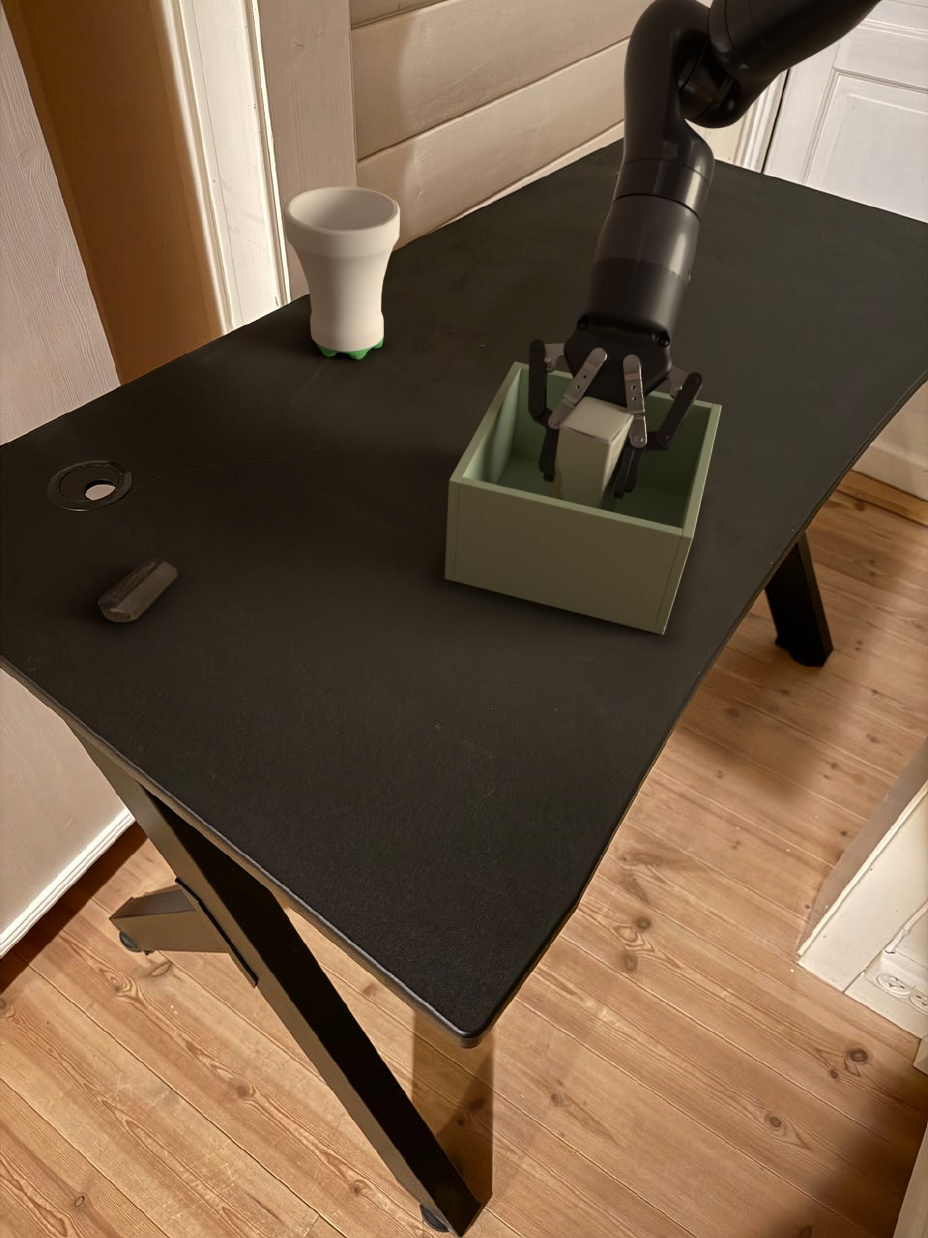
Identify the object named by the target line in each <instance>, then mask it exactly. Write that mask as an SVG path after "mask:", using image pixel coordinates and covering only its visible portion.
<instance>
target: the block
mask: <svg viewBox="0 0 928 1238" xmlns="http://www.w3.org/2000/svg"><path fill="white" fill-rule="evenodd" d="M178 576H179V571H178V570H177V568H175V567H174V566H173V565H171V564H170V563H168V562H167V561H165V560H163V559H161V558H158V557H152V558H147V559H146V560H145V561H144V562H142V563H141V564H139V565H138V566H137V567H136V568H135V569H133V570H132V571H131V572H130V573H129V574H127V575H126V576H125V577H124V578H123V579H121V580H120V581H119V582H118V583H116V584H115V585H114V586H113V587H111V588H110V589H109V590H107V591H106V592H105V593H104V594H103V595H102V596H101V597H99V599H98V602H97V603H98V607H99V608H100V610H101V612H102V614H103V616H104V617H105V618H106V619H107V620H109V621H112V622H114V623H127V622H132V621H136V620H137V619H138V618H139V617H140V616H142V614H143V613H144V612H145V611H146V610H147V609H148V608H149V607H150V606H151V605H152V604H153V603H154V602H155V601H156V599H158V598H159V597H160V595H161V594H162V593H164V591H165V590H166V589H167V588H168V587H169V586H170V585H171V584H172V583H173V582H174V581H175V580H176V579H177V577H178Z"/></svg>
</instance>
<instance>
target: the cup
mask: <svg viewBox="0 0 928 1238" xmlns="http://www.w3.org/2000/svg"><path fill="white" fill-rule="evenodd" d="M282 215H283V224H284V225H283V226H284V232H285V236H286V239H287V241H288V243H289V244H290V246H292V248H293V250H294V252H295V254H296V256H297V259H298V261H299V263H300V266H301V269H302V272H303V274H304V277H305V280H306V283H307V288H308V292H309V299H310V305H311V306H310V307H311V314H310V320H309V324H310V335H311V339H312V340H313V341H314V342H315V344H316V345H317V347H318V348H319V350H320V351H321V353H322V355H323V356H326V357H333V356H336V355H337V354H338V353H343V354H347V355H348V356H349V357H350V358H351V359H355V360H361V359H363V358H364V357H365V356H366V355H367V352H369V351H370V350H371V349H379V348H381V347H382V346H383V342H384V335H385V333H384V331H385V330H384V329H385V327H384V325H385V324H384V322H385V321H384V315H383V312H382V293H383V284H384V278H385V275H386V271H387V266H388V263H389V260H390V257H391V254H392V253H393V252H392V251H393V248H394V246H395V245H396V244H397V242H398V240H399V238H400V227H401V225H400V224H401V223H400V221H401V208H400V206H399V204H398V202H397V201H396V200H394V199H393V198H391V197H390V196H389V195H386V194H385V193H382V192H380V191H377V190H374V189H370V188H367V187H361V186H356V185H327V186H325V185H324V186H320V187H315V188H309V189H306V190H302V191H298V192H297V193H295V194H294V195H293V196H291V197H289V199H288V200H287V201H286V202H285V203H284V204H283V207H282Z"/></svg>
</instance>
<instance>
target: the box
mask: <svg viewBox="0 0 928 1238" xmlns="http://www.w3.org/2000/svg"><path fill="white" fill-rule="evenodd" d="M632 420H633V415H630V414H628V409H627V408H624V407H621V406H618V405H615V404H612V403H609V402H606V401H603V400H600V399H597V398H594V397H590V396H585V397H584V398H583V399H582V400H581V401H580V402H579V403H578V404H577V406H576V407H575V408H574V409H573V410H572V411H571V413H570V414H569V415H568V416H567V418H566V419H565V420H564V421H563V423H562V424H561V425H560V431H559V439H558V445H557V453H556V459H555V468H554V475H553V482H552V488H551V494H550V498H554V499H559V500H563V501H567V502H571V503H576V504H580V505H584V506H588V507H592V508H597V509H601V510H605V511H609V512H614V513H615V508H616V503H617V498H614V497H613V493H614V489H615V485H616V481H617V477H618V473H619V470H620V466H621V462H622V458H623V454H624V451H625V447H628V446H629V442H630V425H631V423H632Z"/></svg>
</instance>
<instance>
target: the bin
mask: <svg viewBox="0 0 928 1238" xmlns="http://www.w3.org/2000/svg"><path fill="white" fill-rule="evenodd" d="M573 380H574V379H573V377H572V374H571V372H570V373H569V372H566V371H560V370H556V369H555V371H554V372H552V373H547V408H549V409H550V410H552V411H553V412H554V410H555V409H556V407H557V406H558V404H559V403H560V401H561V400H562V398H563V395H564V393H565V392H566V390H567V389H568V387H569V386H570V384H571V383H572V381H573ZM528 387H529V364H527V363H523V362H518V361H514V362H513V364H512V365H511V367H510V369H509V371H508V372H507V374H506V376H505V378H504V380H503V382H502V383H501V385H500V387H499V389H498V390H497V392H496V395H494V398H493V400H492V402H491V403H490V405H489V407H488V408H487V411H486V413H485V414H484V416H483V418H482V420H481V422H479V423H480V424H479V425H478V427H477V429H476V431H475V432H474V435H472V438H471V440H470V441H469V444H468V445H467V447H466V449H465V450H464V452H463V455H462V456H461V458H460V460H459V462H458V463H457V466H456V467H455V469H454V470H453V473H452V475H451V477H450V478H449V480H448V493H447V494H448V495H447V496H448V497H447V517H446V541H445V558H444V559H445V561H444V579H445V580H447V581H448V580H449V581H452V582H456V583H460V584H464V585H468V586H471V587H476V588H479V589H483V590H487V591H491V592H495V593H498V594H503V595H506V596H510V597H514V598H518V599H522V600H526V601H530V602H533V603H537V604H540V605H541V604H542V605H545V606H549V607H553V608H557V609H561V610H565V611H569V612H573V613H576V614H580V615H584V616H588V617H592V618H596V619H600V620H602V621H608V622H611V623H616V624H619V625H622V626H627V627H630V628H634V629H638V630H642V631H647V632H649V633H654V634H658V635H662V636H663V635H664V634H665V631H666V628H667V624H668V621H669V618H670V614H671V613H672V612H671V611H672V608H673V604H674V601H675V598H676V595H677V592H678V588H679V585H680V582H681V579H682V578H681V577H682V575H683V572H684V569H685V565H686V563H687V559H688V556H689V553H690V549H691V546H692V542H693V540H694V537H695V536H694V535H695V531H696V526H697V523H698V522H697V521H698V517H699V512H700V507H701V502H702V499H703V494H704V490H705V485H706V480H707V475H708V471H709V466H710V462H711V457H712V453H713V447H714V443H715V439H716V435H717V430H718V427H719V426H718V425H719V420H720V416H721V411H722V407H723V405H721V404H718V403H712V402H708V401H704V400H699V399H695V401H694V403H693V405H692V407H691V409H690V410H689V412H688V414H687V416H686V418H685V420H684V422H683V423H682V425H681V427H680V429H679V431H678V433H677V434H676V436H675V438H674V440H673V442H672V444H671V446H670V447H669V448H668V449H667V450H665V451H660V450H654V451H649V452H647V453H645V454H644V456H643V458H642V461H641V465H640V469H639V472H638V476H637V480H636V484H635V488H634V489H633V490H632V492H631V493H626V492H624V495H623V498H622V499H619V498H617V503H616V508H615V513H614V512H609V511H605V510H601V509H597V508H592V507H588V506H584V505H580V504H576V503H571V502H567V501H563V500H559V499H554V498H550V494H551V488H552V483H551V482H547V481H545V480H544V479H543V476H544V473H541V472H540V470H539V465H538V462H539V458H540V454H541V450H542V446H543V442H544V439H545V435H546V428H545V427H543V426H542V425H540V424H539V423H536V422H534V421H533V420H532V418H531V415H530V413H529V411H528ZM674 401H675V400H673V399H672V398H671V396H670V393H666V392H661V391H657V390H656V391H655V390H653V391H652V392H651V393H650V394H649V395H648V396H646V397H645V398H644V399H643V403H644V415H645V426H646V432H652V431H658V430H659V429H660V427H661V425H662V423H663V421H664V419H665V417H666V416H667V414H668V412H669V410H670V408H671V406H672V405H673V403H674Z"/></svg>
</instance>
